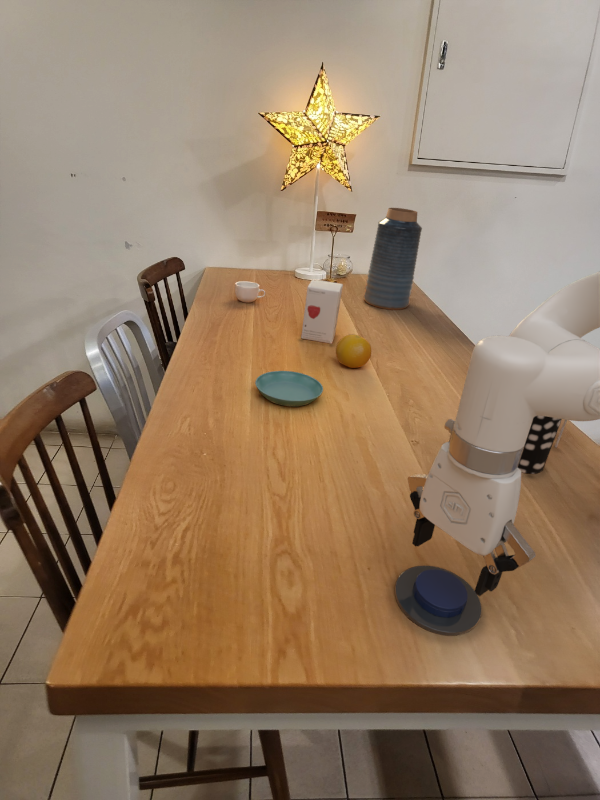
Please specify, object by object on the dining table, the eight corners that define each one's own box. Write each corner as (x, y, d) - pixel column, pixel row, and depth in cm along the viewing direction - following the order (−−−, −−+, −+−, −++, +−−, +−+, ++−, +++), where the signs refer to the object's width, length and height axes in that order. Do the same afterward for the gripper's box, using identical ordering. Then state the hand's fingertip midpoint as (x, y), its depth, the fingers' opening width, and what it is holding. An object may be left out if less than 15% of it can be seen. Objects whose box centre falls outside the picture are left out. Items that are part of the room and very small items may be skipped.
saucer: (294, 419, 108) (295, 407, 107) (240, 393, 116) (240, 382, 115) (334, 397, 119) (336, 386, 118) (283, 375, 127) (284, 365, 126)
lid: (415, 612, 67) (417, 603, 66) (411, 574, 72) (414, 565, 72) (468, 621, 66) (471, 612, 65) (460, 582, 72) (463, 573, 71)
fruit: (353, 357, 142) (358, 328, 138) (374, 369, 136) (380, 339, 133) (327, 362, 137) (331, 332, 133) (348, 374, 131) (353, 344, 128)
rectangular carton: (300, 339, 150) (306, 286, 143) (305, 328, 158) (311, 278, 151) (332, 344, 149) (340, 291, 142) (336, 333, 157) (343, 283, 150)
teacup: (231, 302, 173) (232, 285, 171) (237, 295, 180) (238, 279, 177) (262, 306, 172) (263, 290, 170) (266, 300, 179) (268, 284, 177)
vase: (402, 298, 199) (420, 209, 185) (413, 312, 185) (434, 216, 170) (359, 294, 197) (374, 204, 183) (367, 308, 183) (383, 211, 169)
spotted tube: (498, 445, 108) (528, 352, 99) (542, 456, 106) (576, 362, 97) (497, 466, 101) (529, 368, 92) (544, 478, 98) (582, 379, 90)
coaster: (472, 576, 74) (473, 572, 74) (488, 643, 64) (489, 639, 64) (393, 562, 75) (394, 559, 75) (396, 626, 65) (397, 623, 65)
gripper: (403, 422, 63) (380, 535, 71) (538, 501, 51) (493, 626, 59) (443, 407, 67) (418, 515, 75) (576, 477, 56) (530, 597, 63)
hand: (451, 564), depth 67 cm, fingers open, 9 cm apart
